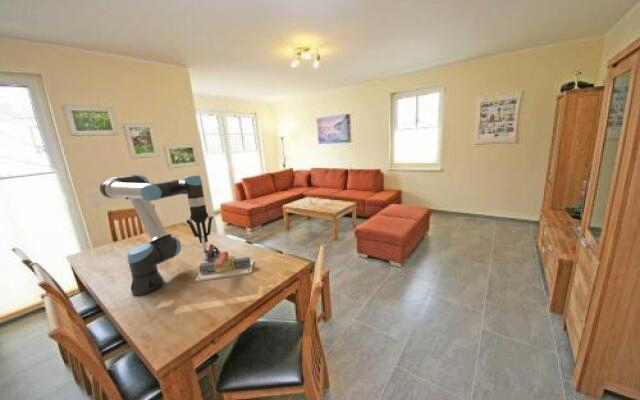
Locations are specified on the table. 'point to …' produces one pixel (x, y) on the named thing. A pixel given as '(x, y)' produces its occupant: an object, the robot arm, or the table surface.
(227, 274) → the mount board
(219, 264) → the lever
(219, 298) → the table surface
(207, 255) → the brake caliper
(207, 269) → the pipe valve
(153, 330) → the table surface
